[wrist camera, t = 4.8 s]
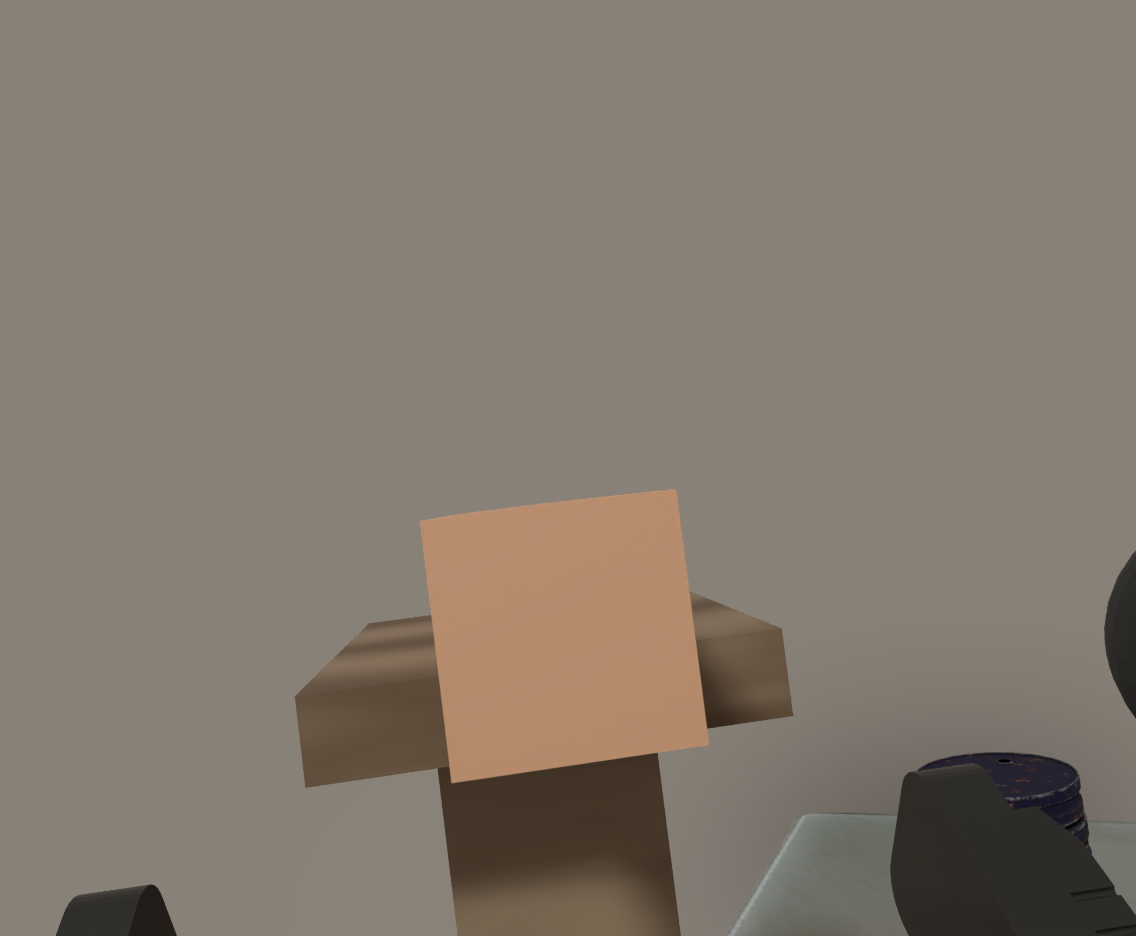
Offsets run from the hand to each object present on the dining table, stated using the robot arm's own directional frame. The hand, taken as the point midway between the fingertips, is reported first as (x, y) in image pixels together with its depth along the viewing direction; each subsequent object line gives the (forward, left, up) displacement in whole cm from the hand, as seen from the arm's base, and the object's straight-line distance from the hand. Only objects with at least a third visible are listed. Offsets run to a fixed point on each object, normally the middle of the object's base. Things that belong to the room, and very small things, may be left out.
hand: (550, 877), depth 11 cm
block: (-7, -13, +1) cm, 15 cm away
